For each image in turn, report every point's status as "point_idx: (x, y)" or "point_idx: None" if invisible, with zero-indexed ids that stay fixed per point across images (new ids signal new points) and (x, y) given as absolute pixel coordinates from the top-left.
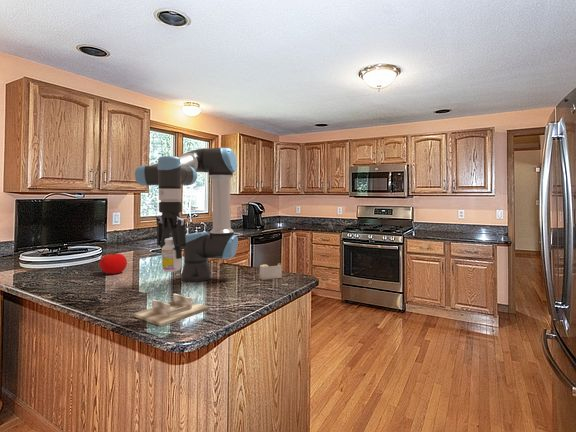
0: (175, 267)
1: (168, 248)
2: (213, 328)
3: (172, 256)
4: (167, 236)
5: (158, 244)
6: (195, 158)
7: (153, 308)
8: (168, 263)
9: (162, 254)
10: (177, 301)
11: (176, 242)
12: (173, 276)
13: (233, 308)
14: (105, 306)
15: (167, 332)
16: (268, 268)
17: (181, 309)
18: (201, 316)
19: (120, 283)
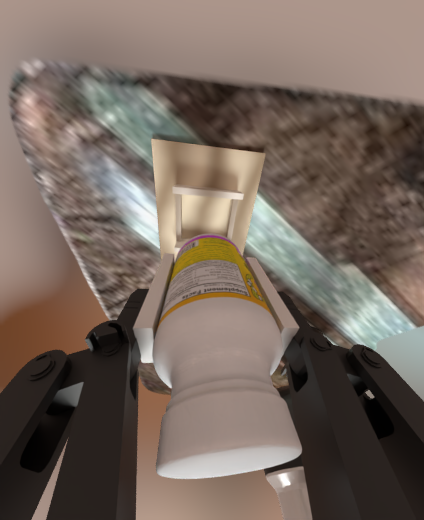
0: (163, 258)
1: (179, 321)
2: (60, 196)
3: (169, 288)
4: (320, 492)
5: (357, 352)
6: None
7: (233, 190)
8: (189, 252)
9: (270, 292)
10: None
11: (79, 420)
12: (340, 333)
13: (133, 283)
14: (372, 166)
15: (105, 118)
16: None
17: (176, 219)
18: (140, 231)
19: (419, 276)
